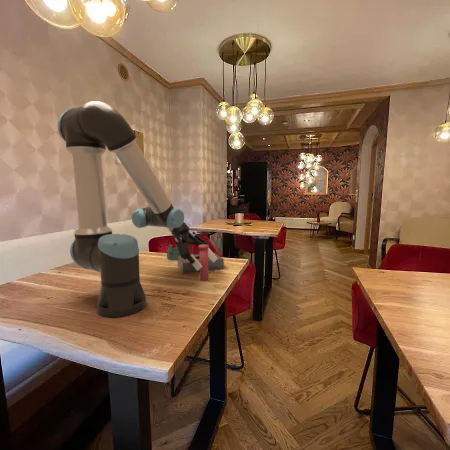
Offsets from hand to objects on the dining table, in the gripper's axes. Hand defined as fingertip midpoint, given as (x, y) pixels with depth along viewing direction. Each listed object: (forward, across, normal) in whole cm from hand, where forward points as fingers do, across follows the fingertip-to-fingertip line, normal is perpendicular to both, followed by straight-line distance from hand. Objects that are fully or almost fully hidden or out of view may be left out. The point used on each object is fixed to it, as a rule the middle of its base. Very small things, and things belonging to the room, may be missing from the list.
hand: (208, 264), depth 109 cm
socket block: (-4, -15, -14) cm, 21 cm away
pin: (+4, 0, -6) cm, 7 cm away
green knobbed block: (-20, -25, -30) cm, 43 cm away
